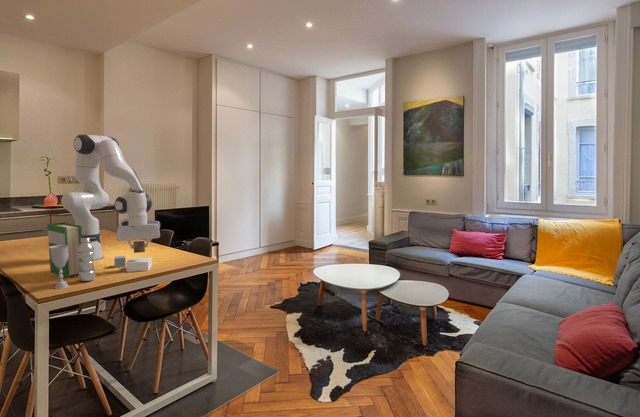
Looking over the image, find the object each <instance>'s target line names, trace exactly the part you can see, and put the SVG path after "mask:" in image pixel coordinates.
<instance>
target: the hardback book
mask: <svg viewBox="0 0 640 417" xmlns="http://www.w3.org/2000/svg"><path fill="white" fill-rule="evenodd" d="M47 235H48V236H47V237H48V239H47V240H48V253H49V254H48V255H49V267H50V269H49V272H50V273H53V274H54V275H58V276H59V275H60V274H59V268H58V267H56V266H55V265H54V263H53V261H52V259H51V252H50V248H49V247H50V246H55V245H69V247H68V256H69V257H68V259H67V262H66V264H65V266H64V267H62V271H63V272H62V275H63V278H66V279H68V278H70V276H75V275H79V266H80V263H79V262H80V261H79V256H78V251H77V250H78V247H79V246H80V244H81V242H80V238H82V226H80V225H76V223H75V224H74V223H68V222H57V223H48V224H47Z"/></svg>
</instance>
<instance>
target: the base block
mask: <svg viewBox="0 0 640 417" xmlns="http://www.w3.org/2000/svg"><path fill="white" fill-rule="evenodd" d="M152 259H153V258H152V257H151V256H149V257H131V258H129V260H127V262H126V267H125V268H126V273H131V272H133V273H134V272H149V271H150V269H151V268H152V266H153V262H152V261H153V260H152Z"/></svg>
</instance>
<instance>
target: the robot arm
mask: <svg viewBox="0 0 640 417" xmlns="http://www.w3.org/2000/svg"><path fill="white" fill-rule="evenodd" d="M73 148H74V150H75V151H76V153H77V154H76V160H75V180H76V182H78V183H79V184H81V185H82V186H83V190H72V191H69V192H65V193H64V194H63V195H62V197H61V201H60V202H61V206H62V207H63V208H64V209H65V210H66V211H68V212H69V213H70V214H71V215H72V217H73V218H74V221H75V222H74V223H75V225H80V226H82V238H83V237H90V243H91V244H92V246H93V247H94V256H93V261H95V260H100V259H102V258H104V257H105V256H104V253H103V250H102V245H101V241H102V240H101V238H102V237H101V232H100V221H99V219H98V218H97V217H95V216H93V214H92V213H91V211H90V210H99V209H103V208H105V207H107V206H108V205H109V203H110V196H109V194H108V192H107V191H105V190H104V189H103V188H102V185H101V182H100V164H101V167H102V169H103V171H104V172H105V173H106V174H107V175H109V176H111V177H114V178H118V179H121V180H123V181H124V182H126V183H127V184H128V185H129V186H130V188H131V189H129V190H128V191H127V192H126V193H125V194H123V195H120V196H118V197H116V199H115V201H114V203H113V204H114V210H115V211H116V212H117V213H118V214H121V215H127V218H124V219H121V220H119V221H118V227H117V228H116V236H115V237H116V241H118V242H123V241H124V242H125V241H127V243H128V244H129V246H130V250H131V249H133V250H134V244H132V241H139V240H146V243H145V249H146V248H148V247H149V246H148V245H149V242H150V241H151V240H153V239H159V238H160V237H161V232H160V228H161V222H160V221H158V220H148V212H150V210H151V208H152V206H153V202H152V199H151V197H150V196H149V194H148V193H147V191H146V189H145V188H144V186H143V184H142V182H141V179H139V178H140V177H138V173H136V171H135V169H134V168H132V167H131V166H130V165H129V164H128V163H127V161H126V160H125V157H124V154H123V152H122V150H121V148H120V143H119V141H118V140H117V139H116V138H114V137H112V136H105V135H99V134H86V133H85V134H84V133H83V134H78V135H76V136H75V138H74V140H73ZM150 239H151V240H150Z"/></svg>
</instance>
